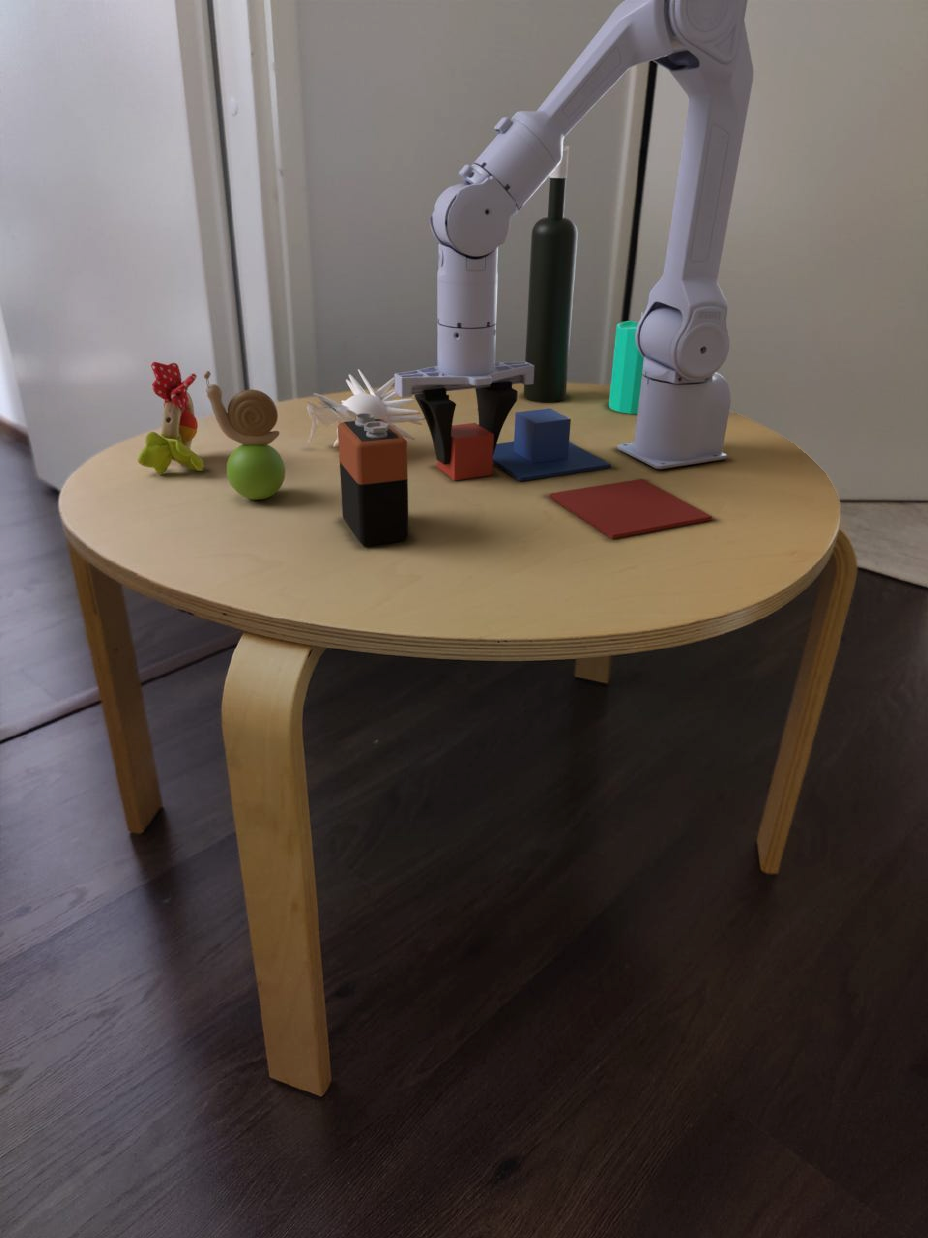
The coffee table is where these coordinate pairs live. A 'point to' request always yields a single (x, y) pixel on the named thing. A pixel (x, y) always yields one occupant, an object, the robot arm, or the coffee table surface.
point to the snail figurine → (250, 441)
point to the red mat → (629, 508)
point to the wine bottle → (551, 294)
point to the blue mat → (545, 463)
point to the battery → (373, 480)
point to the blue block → (541, 435)
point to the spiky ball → (363, 408)
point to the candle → (626, 370)
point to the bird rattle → (172, 422)
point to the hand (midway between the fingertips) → (464, 458)
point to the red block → (469, 452)
